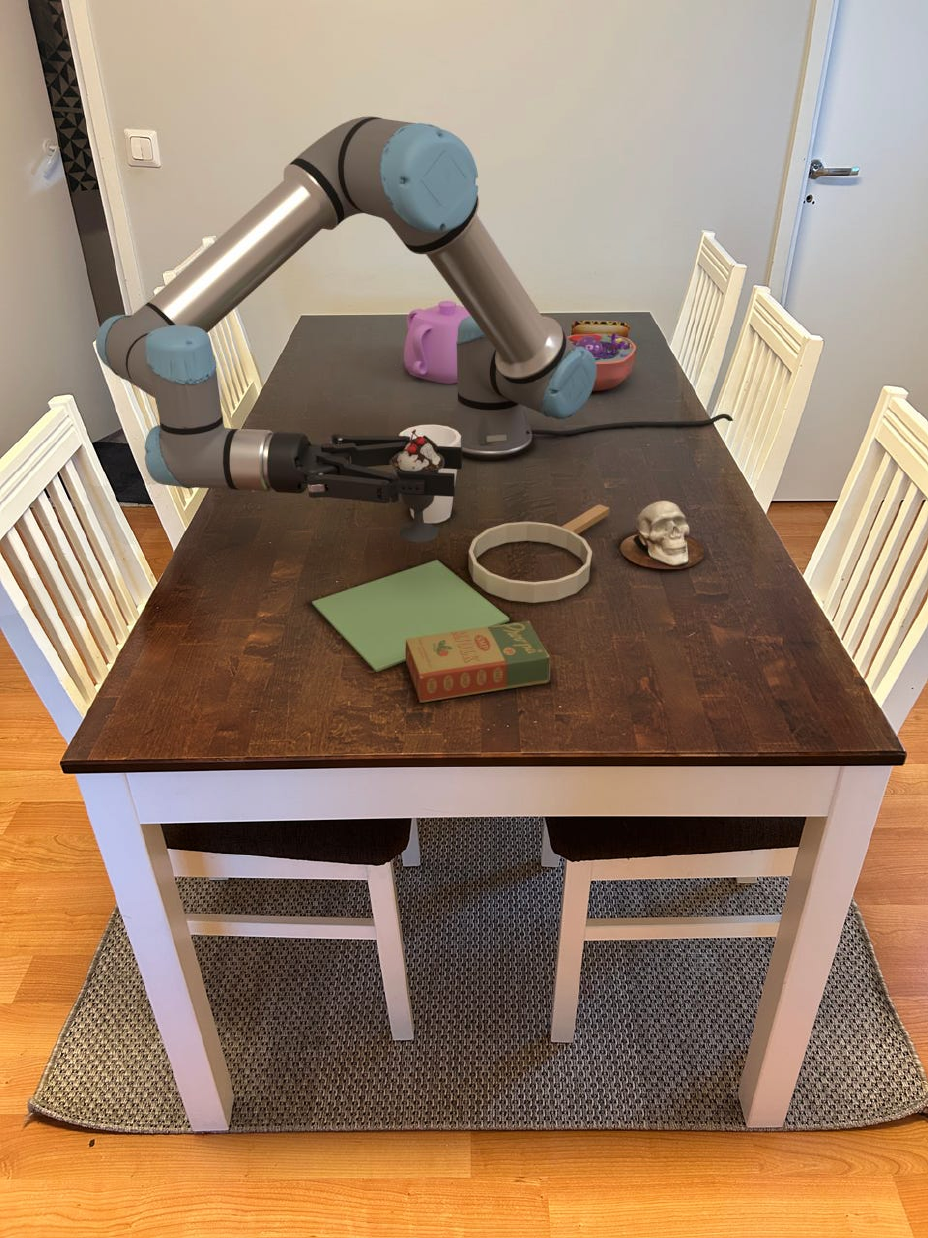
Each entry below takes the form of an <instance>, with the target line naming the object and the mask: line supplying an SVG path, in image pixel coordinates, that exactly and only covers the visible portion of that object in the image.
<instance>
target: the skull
mask: <svg viewBox="0 0 928 1238" xmlns="http://www.w3.org/2000/svg"><path fill="white" fill-rule="evenodd" d="M635 525H636V529H637V534H636V533H635V534H633V535H631V536H628V537H626V538H625V539H624V540H623V541H622V542H621V544H620V546H619V547H620V548H619V549H620V552H621V554H622V555H623V556H624V557H625V558H627V560H629V561H631V562H633V563H635V564H638V565H639V566H642V567H647V568H650V569H652V568H653V569H659V570H660V569H662V570H663V569H664V570H676V569H677V570H679V569H680V570H681V569H684V568H685V569H686V568H689V567H691V566H694V565H696V564H697V563H699V562H700V561H701V560H702V559H703V558H704V554H705V551H704V547H702V545H701V544H700V543H699V542H698V541H696V540H694V539H692V538H690V537H687V536H689V534H690V526H689V524H688V523H687V522H686V516H685V514H684V513H683V512H682V511H681V509H680V507H679V505H678V504H676V503H674V502H672V501H669V500H659V501H655V502H652V503H650V504H649V505H646V507H644V508H643V509H642V510H641V511H640V513H639V514H638V516H637V517H636V524H635Z"/></svg>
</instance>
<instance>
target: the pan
mask: <svg viewBox="0 0 928 1238" xmlns="http://www.w3.org/2000/svg"><path fill="white" fill-rule="evenodd" d="M609 515H610V507H609V506H606V505H603V504H601V503H598V504H597V505H595V506H593V507H592V508H590V509H588V510H586V511H585V512H583V513H582V514H580V515H578V516H577V517H575V518H574V519H572V520H570V521H569V522H567V523H565V524H564V525H562V526H559V525H556V524H552V523H547V522H536V521H516V522H508V523H507V522H506V523H502V524H499V525H497V526H493V527H491V528H487V529H485V530H484V531H482V532H480V534H478V535H477V536H475V537H474V538H473V539H472V542H471V544H470V547H469V549H468V571H469V574H470V577H471V579H472V581H473V583H474V584H476V585H477V586H478V587H479V588H481V589H482V590H483V591H484V592H486V593H488V594H490V595H493V596H496V597H498V598H501V599H504V600H506V601H512V602H521V603H529V604H536V603H537V604H538V603H544V602H552V601H553V602H554V601H558V600H562V599H565V598H567V597H569V596H572V595H575V594H577V593H578V592H579V591H581V589H583V587H585V586H586V585H587V584H588V583H589V580H590V576H591V570H592V559H593V550H592V548H591V546H590V545H589V544H588V542H587V540H586V539H585V538H584V537H582V536H580V535H579V534H581V533H582V532H584V531H585V530H587V529H588V528H590V527H592V526H594V525H595V524H597V523H598V522H600V521H601V520H603V519H604V518H607V517H608V516H609ZM526 541H527V542H536V543H547V544H551V545H553V546H556V547H560V548H563V549H566V550H567V551H569V552H571V554H573V555H575V556H576V557H578V558H579V559H580V560H581V563H582V564H583V565H582V566H581V567H580V568H579V569H578V570H576V571H575V572H574V573H571V574H569V575H566V576H563V577H560V578H557V579H550V580H542V581H527V580H517V579H509V578H507V577H504V576H502V575H498V574H495V573H492V572H490V571H489V570H488V569H486V568H485V567H484V566H482V565H481V564H480V563H479V562H478V561H477V559H478V558H479V557H480V556H481V555H482V554H483V553H485V552H486V551H487V550H489V549H491V548H495V547H499V546H500V545H504V544H507V543H518V542H526Z"/></svg>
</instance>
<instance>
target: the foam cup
mask: <svg viewBox="0 0 928 1238" xmlns="http://www.w3.org/2000/svg"><path fill="white" fill-rule="evenodd" d="M414 429H415V430H416V432H415V434H416V435H417V436H418V437H423V436H424V435H425V436H426V437H428V438H429V439H430V440H432V441H433V442H434V443H435V444H437V446H449V447H461V435H460V434H459V433H458V432H457V430H454V429H452V428H450V426H446V425H440V424H420V425H415V426H411V427H408V428H406V429H404V430H403V431H401V432H399V435H398V436H409V437H410V440H411V436H412V434H413V433H412V431H414ZM416 438H417V437H416V436H415V435H413V437H412V440H413V439H416ZM438 472H439V473H455V482H456V480H457V473H458V469H440V470H439V471H438ZM453 502H454V497H448V496H434V501H433V502H432V504H431V505H430V506H429V507H428V508H426V509H425V510H424V511H423V521H424V523H427V524H439V523H442V522H445V521H447V520H448V519H449V518H451V514H452V510H453ZM409 511H410V515H411V517H412V519H413V520H414V511H413V510H412V509H410V508H409Z"/></svg>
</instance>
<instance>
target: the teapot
mask: <svg viewBox="0 0 928 1238" xmlns="http://www.w3.org/2000/svg"><path fill="white" fill-rule="evenodd" d="M437 304H438V305H434V306H430V307H428V308H425V309H422V308H415V309H413V310H411V311H410V312H409V313H408V315H407V317H406V327H407V334H406V338H405V342H404V348H403V349H404V350H403V363H404V366H405V368H406V370H407V372H408V373H409V375H411V376H413V377H415V378H419V379H421V380H424V381H425V380H426V381H430V382H434V383H438V384H445V385H452V384H453V385H454V384H457V345H456V342H457V336H458V326H459V324H460V322H461V321H462V320H463V319H465V318H466V317H469V316H471V315H470V314H469V312H468V311H467V310H466V308H465V307H464V306H463V305H457V303H456V302H455V301H453V300H443V301H440V302H438V303H437Z"/></svg>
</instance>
